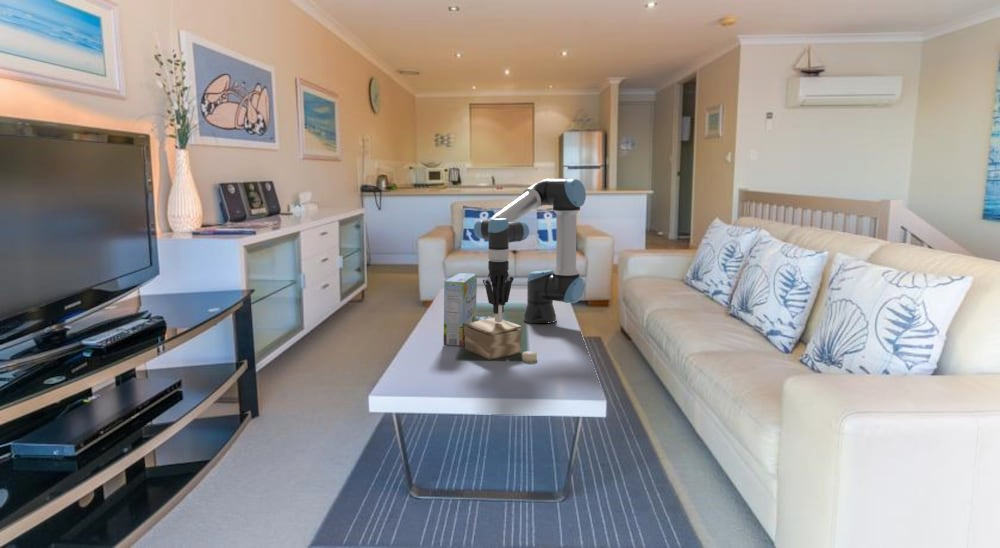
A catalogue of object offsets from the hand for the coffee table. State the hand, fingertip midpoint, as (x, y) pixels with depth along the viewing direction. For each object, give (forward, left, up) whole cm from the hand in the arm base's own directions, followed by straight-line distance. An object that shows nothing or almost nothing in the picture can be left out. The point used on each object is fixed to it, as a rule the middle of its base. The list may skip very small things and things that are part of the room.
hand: (498, 321), depth 216 cm
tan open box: (+3, 0, -11) cm, 11 cm away
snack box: (+4, -21, -11) cm, 24 cm away
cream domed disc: (-2, +16, -11) cm, 20 cm away
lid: (+3, 0, -2) cm, 3 cm away
